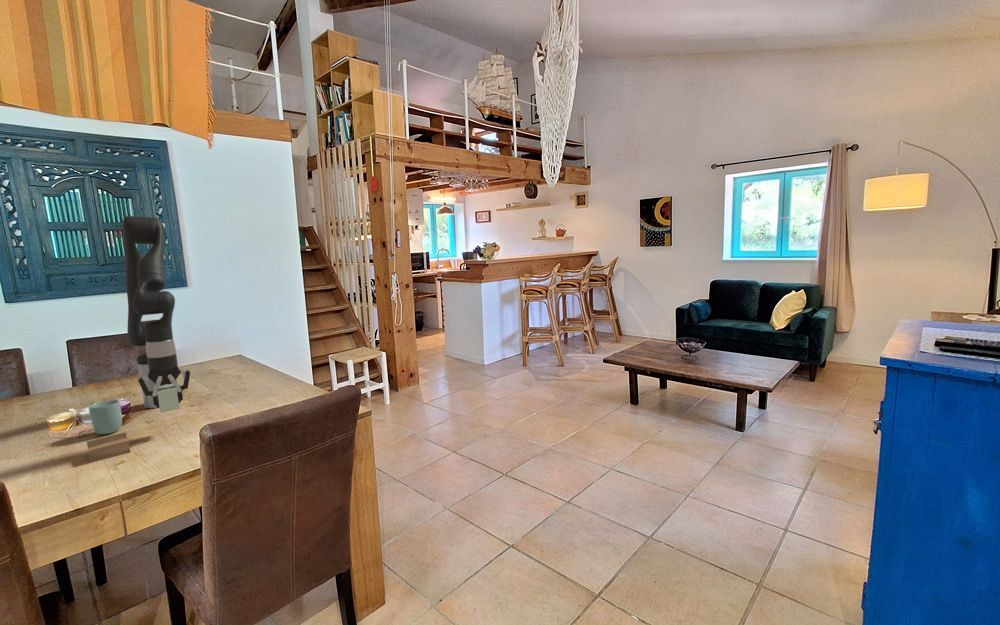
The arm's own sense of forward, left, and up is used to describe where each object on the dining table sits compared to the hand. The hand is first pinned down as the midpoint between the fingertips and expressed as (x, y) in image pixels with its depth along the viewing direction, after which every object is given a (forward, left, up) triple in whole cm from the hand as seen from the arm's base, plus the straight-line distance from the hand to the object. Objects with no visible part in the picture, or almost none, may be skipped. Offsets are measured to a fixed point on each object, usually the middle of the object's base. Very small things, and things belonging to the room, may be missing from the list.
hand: (168, 404), depth 148 cm
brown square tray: (+5, -16, -10) cm, 19 cm away
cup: (-16, -17, -10) cm, 25 cm away
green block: (0, 0, -1) cm, 1 cm away
